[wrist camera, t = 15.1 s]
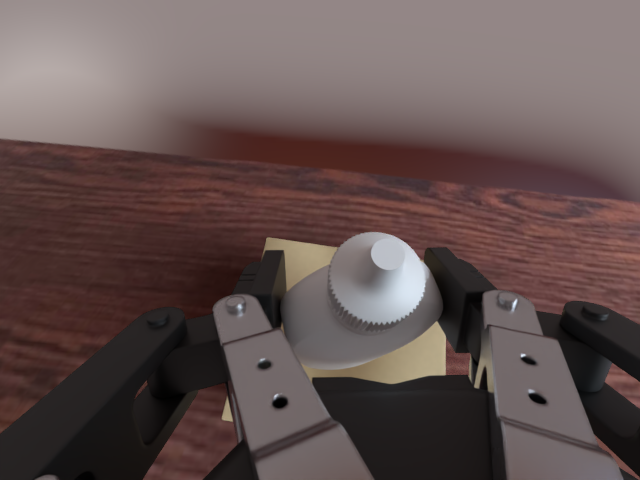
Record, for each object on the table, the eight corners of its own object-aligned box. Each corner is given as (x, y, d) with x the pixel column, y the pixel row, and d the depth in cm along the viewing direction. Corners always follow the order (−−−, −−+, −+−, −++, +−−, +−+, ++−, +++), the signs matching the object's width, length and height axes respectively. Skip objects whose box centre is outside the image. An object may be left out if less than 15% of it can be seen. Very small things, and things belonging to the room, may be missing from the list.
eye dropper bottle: (307, 284, 19) (287, 145, 8) (402, 308, 18) (528, 194, 7) (286, 361, 17) (221, 324, 6) (390, 390, 16) (531, 408, 5)
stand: (245, 409, 23) (220, 419, 17) (278, 266, 27) (266, 236, 22) (413, 440, 22) (445, 462, 16) (419, 288, 26) (446, 263, 21)
